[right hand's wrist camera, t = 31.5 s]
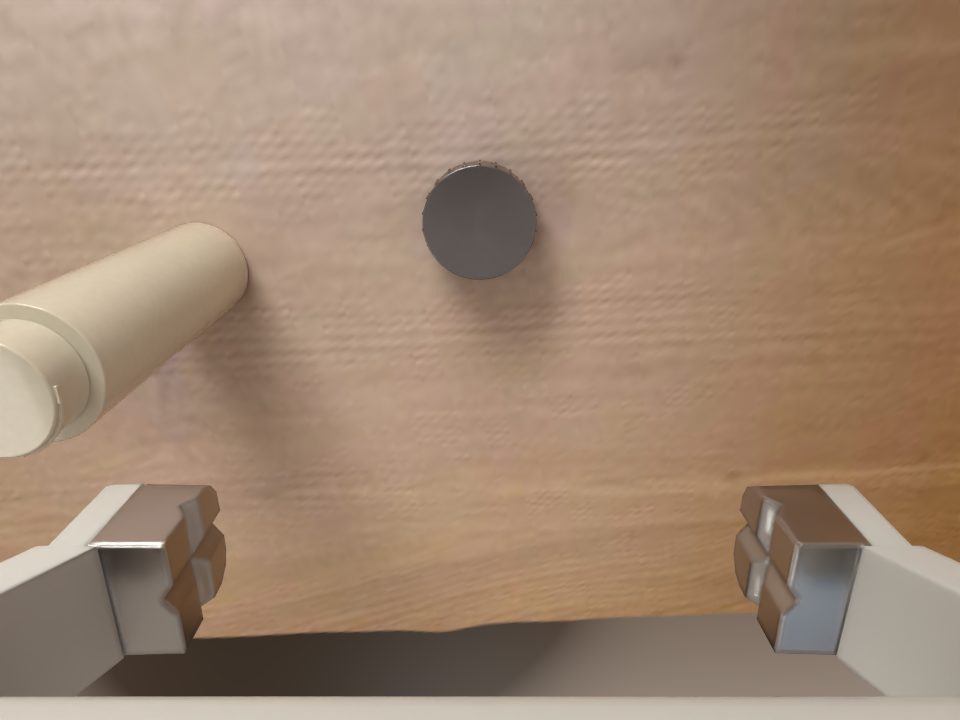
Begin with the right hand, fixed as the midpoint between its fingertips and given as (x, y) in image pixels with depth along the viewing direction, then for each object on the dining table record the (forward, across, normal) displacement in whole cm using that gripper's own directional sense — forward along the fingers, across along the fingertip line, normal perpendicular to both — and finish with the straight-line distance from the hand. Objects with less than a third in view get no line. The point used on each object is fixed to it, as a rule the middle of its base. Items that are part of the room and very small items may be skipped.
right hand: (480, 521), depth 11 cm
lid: (+27, 0, 0) cm, 27 cm away
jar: (+29, +16, +3) cm, 33 cm away
